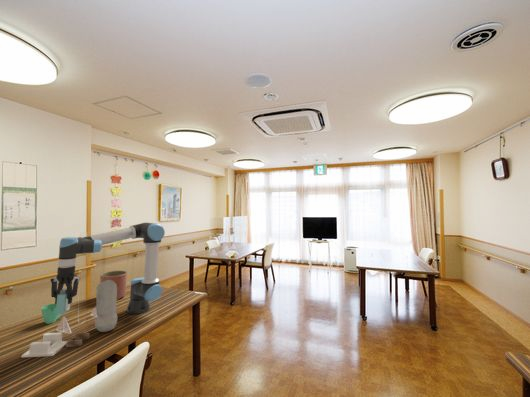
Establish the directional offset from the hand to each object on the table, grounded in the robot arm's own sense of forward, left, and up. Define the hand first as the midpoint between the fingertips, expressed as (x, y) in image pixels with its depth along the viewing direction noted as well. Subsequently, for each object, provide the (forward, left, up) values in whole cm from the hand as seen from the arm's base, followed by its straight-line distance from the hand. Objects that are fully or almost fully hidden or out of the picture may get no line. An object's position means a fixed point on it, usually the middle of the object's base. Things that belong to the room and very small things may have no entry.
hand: (62, 309), depth 131 cm
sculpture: (-14, -17, -20) cm, 30 cm away
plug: (0, 0, -1) cm, 1 cm away
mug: (+24, -32, -20) cm, 45 cm away
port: (+5, +2, -19) cm, 20 cm away
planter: (+5, -72, -20) cm, 75 cm away
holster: (-7, -4, -19) cm, 21 cm away
